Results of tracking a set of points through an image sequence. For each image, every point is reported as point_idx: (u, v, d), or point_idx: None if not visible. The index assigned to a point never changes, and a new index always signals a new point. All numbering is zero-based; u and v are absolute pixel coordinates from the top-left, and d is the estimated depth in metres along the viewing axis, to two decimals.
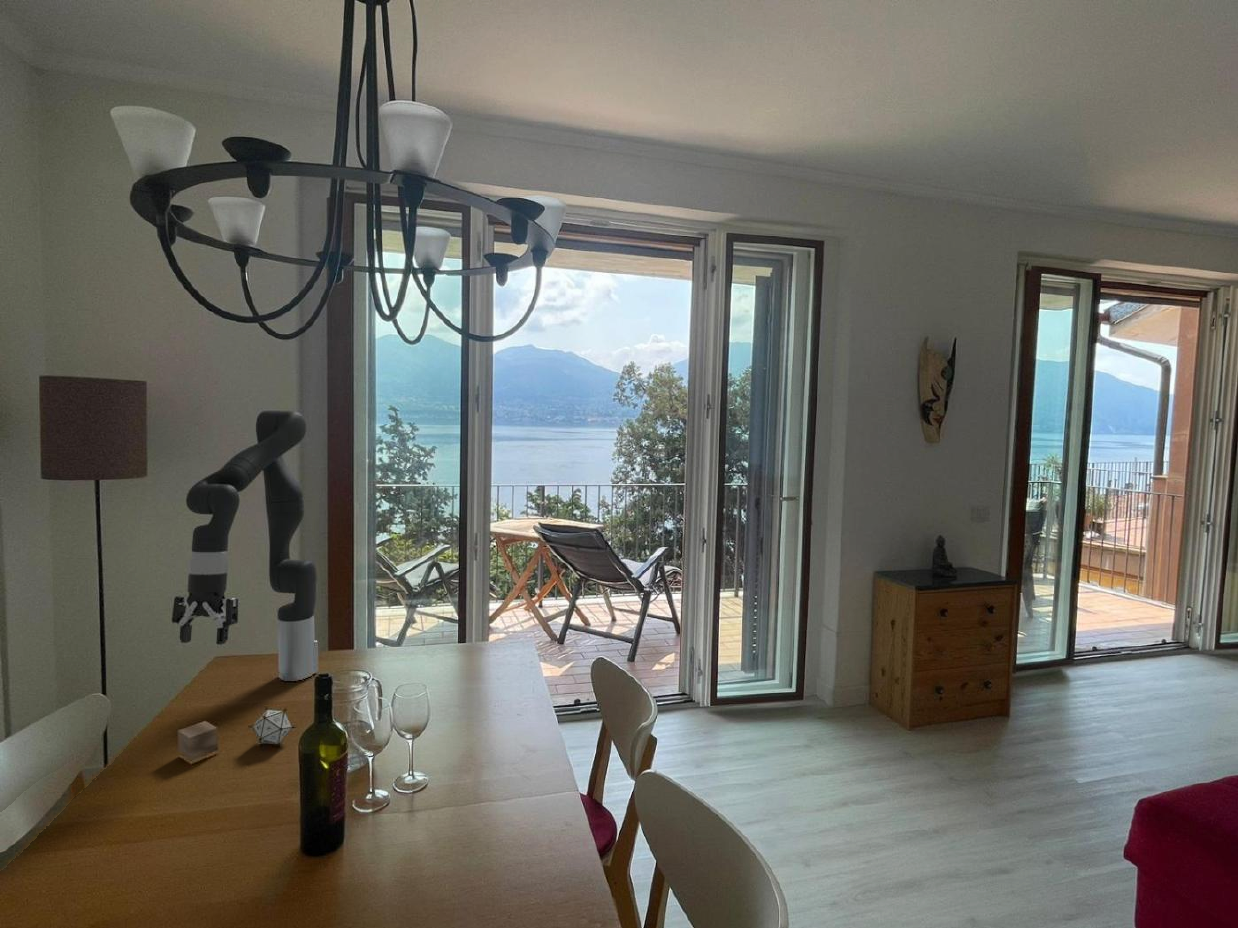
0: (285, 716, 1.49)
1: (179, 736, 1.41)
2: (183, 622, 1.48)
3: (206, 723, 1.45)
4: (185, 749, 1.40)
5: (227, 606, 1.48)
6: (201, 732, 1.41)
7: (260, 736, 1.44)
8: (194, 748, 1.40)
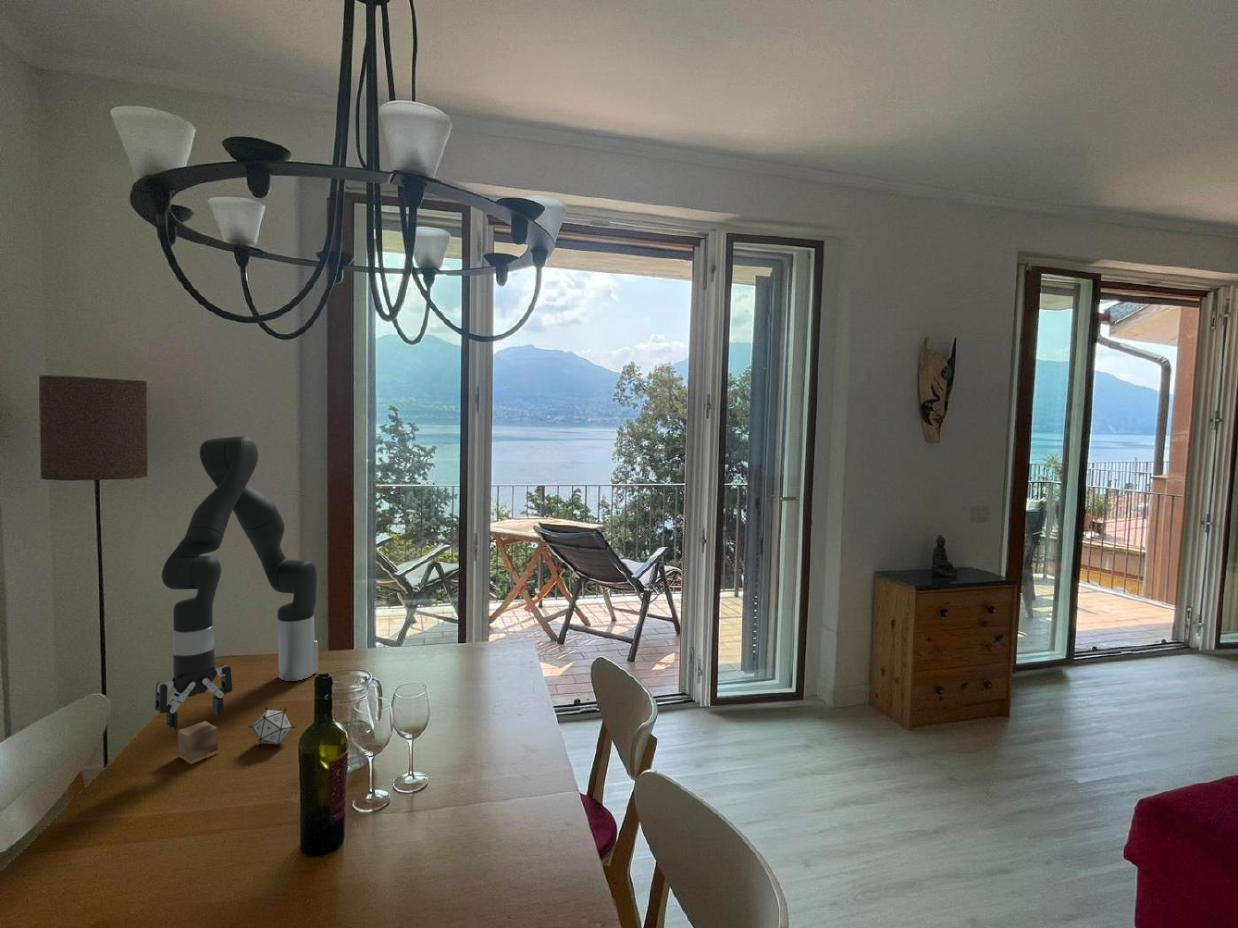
0: (285, 716, 1.49)
1: (179, 736, 1.41)
2: (175, 708, 1.38)
3: (206, 723, 1.45)
4: (185, 749, 1.40)
5: (227, 674, 1.46)
6: (201, 732, 1.41)
7: (260, 736, 1.44)
8: (194, 748, 1.40)
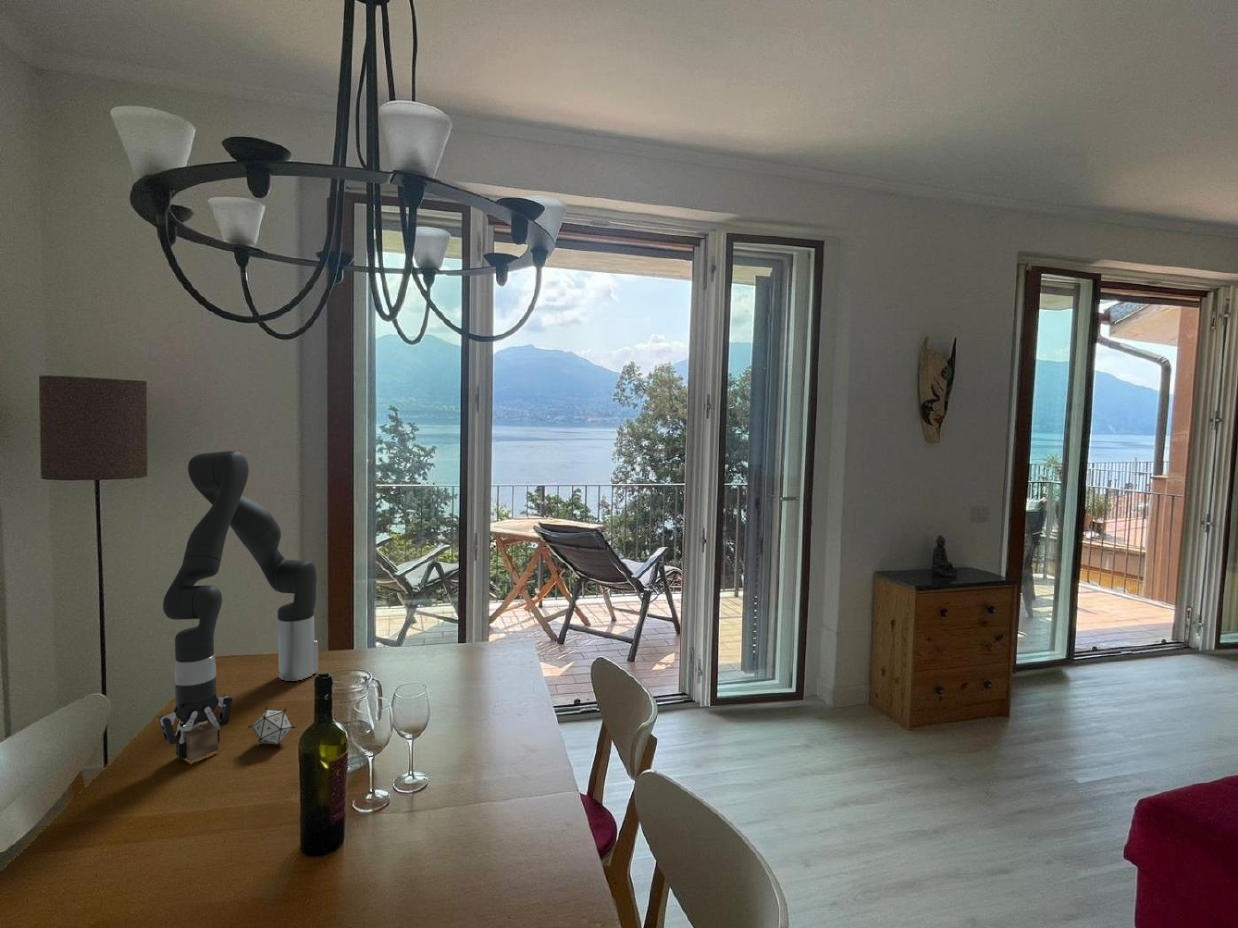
0: (285, 716, 1.49)
1: None
2: (184, 738, 1.39)
3: (206, 723, 1.45)
4: None
5: (227, 705, 1.46)
6: (201, 732, 1.41)
7: (260, 736, 1.44)
8: (194, 748, 1.40)
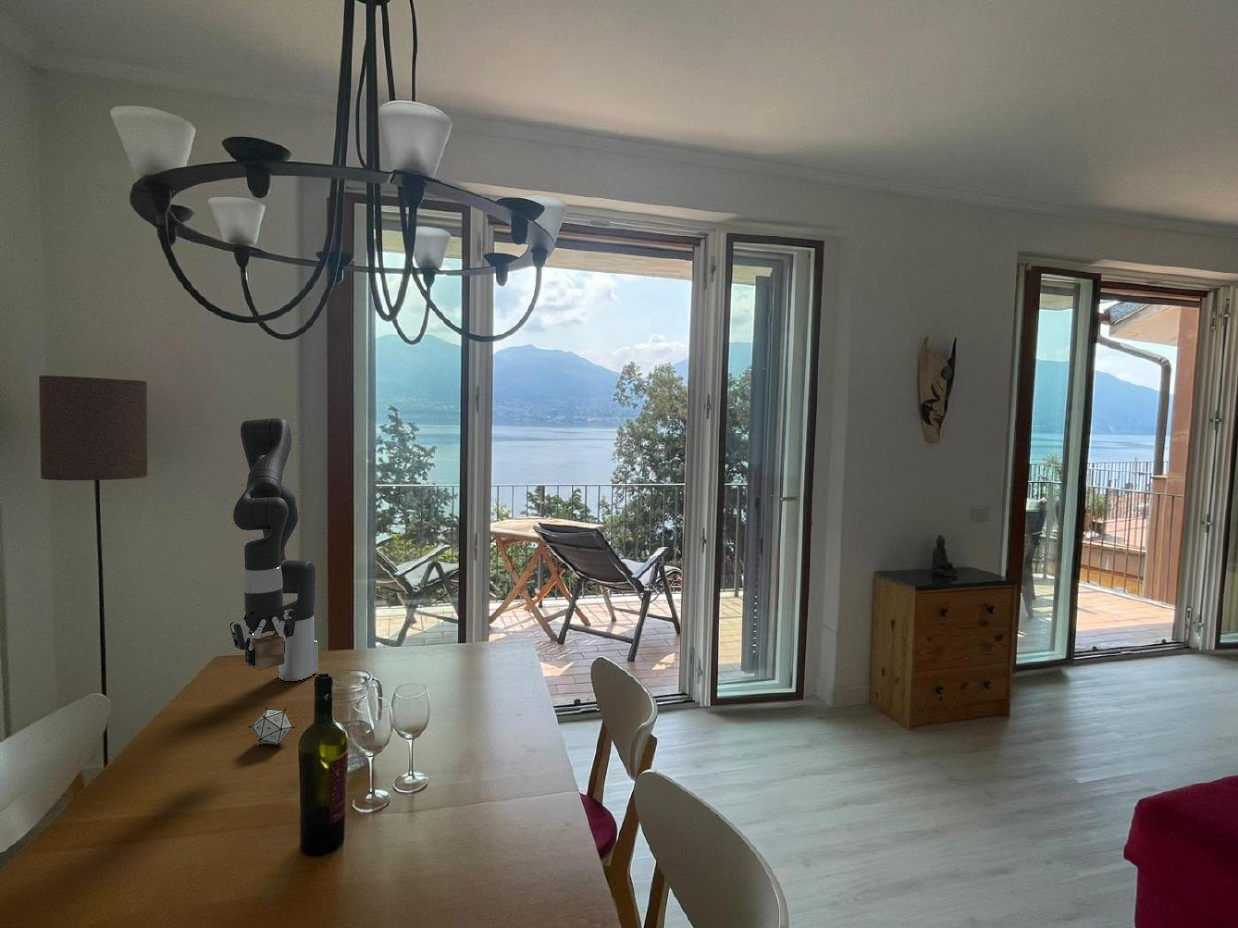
0: (285, 716, 1.49)
1: None
2: (254, 645, 1.43)
3: (272, 634, 1.49)
4: None
5: (292, 618, 1.50)
6: (269, 640, 1.45)
7: (260, 736, 1.44)
8: (263, 655, 1.43)
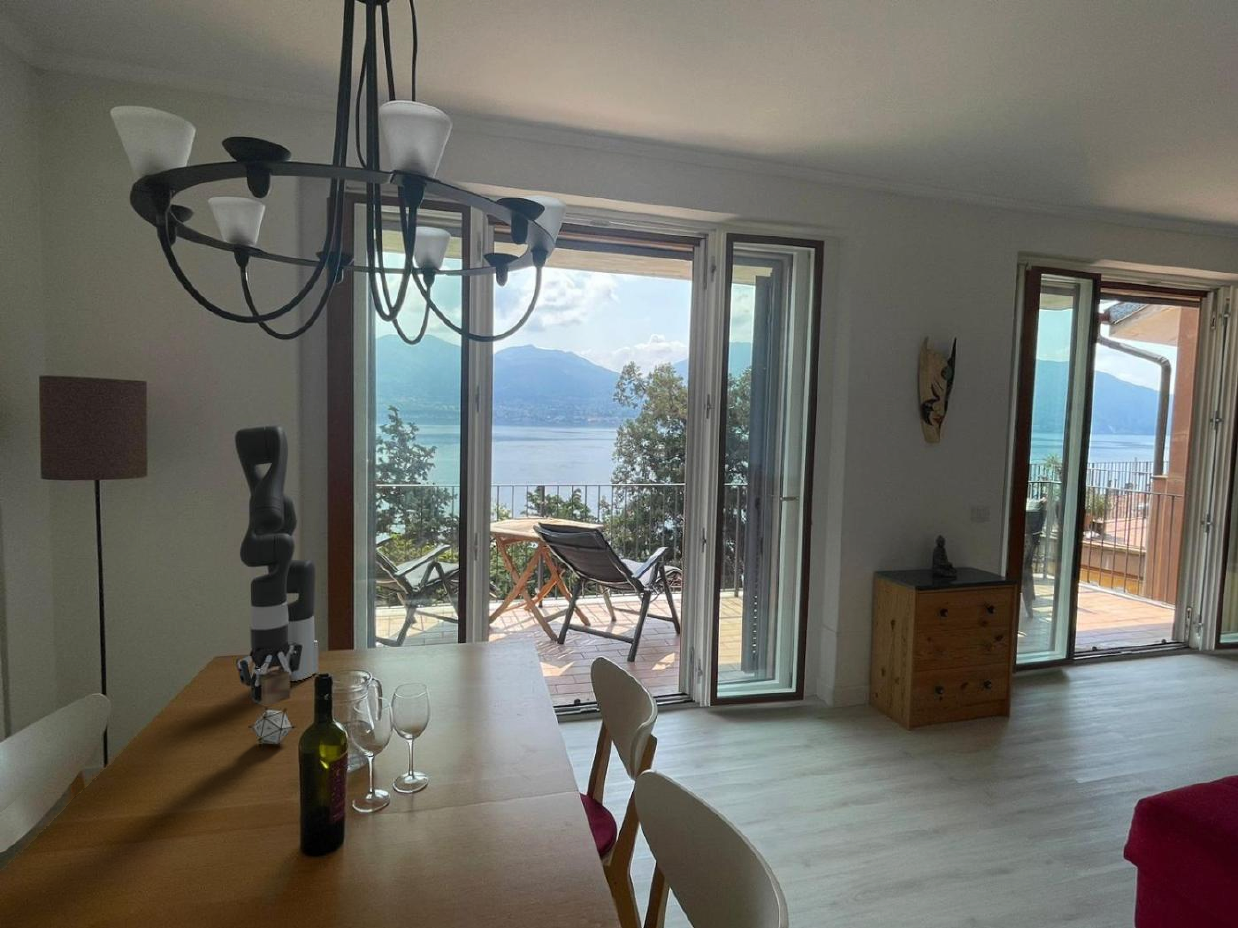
0: (285, 716, 1.49)
1: None
2: (260, 681, 1.44)
3: (278, 668, 1.50)
4: None
5: (298, 652, 1.51)
6: (275, 676, 1.46)
7: (260, 736, 1.44)
8: (269, 690, 1.44)
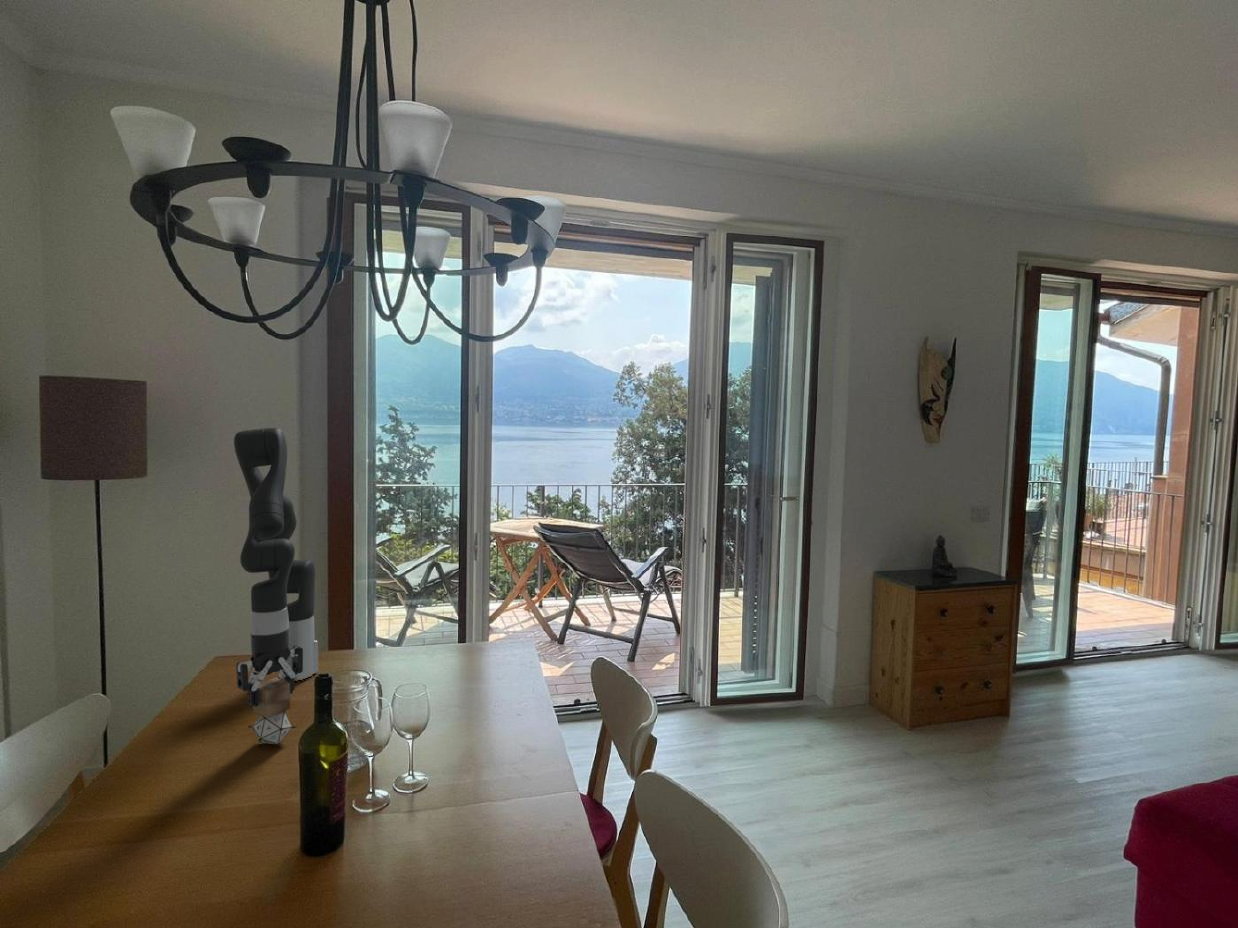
0: (285, 716, 1.49)
1: None
2: (256, 686, 1.43)
3: (278, 679, 1.50)
4: (260, 702, 1.45)
5: (299, 655, 1.51)
6: (275, 686, 1.46)
7: (260, 735, 1.45)
8: (269, 701, 1.45)
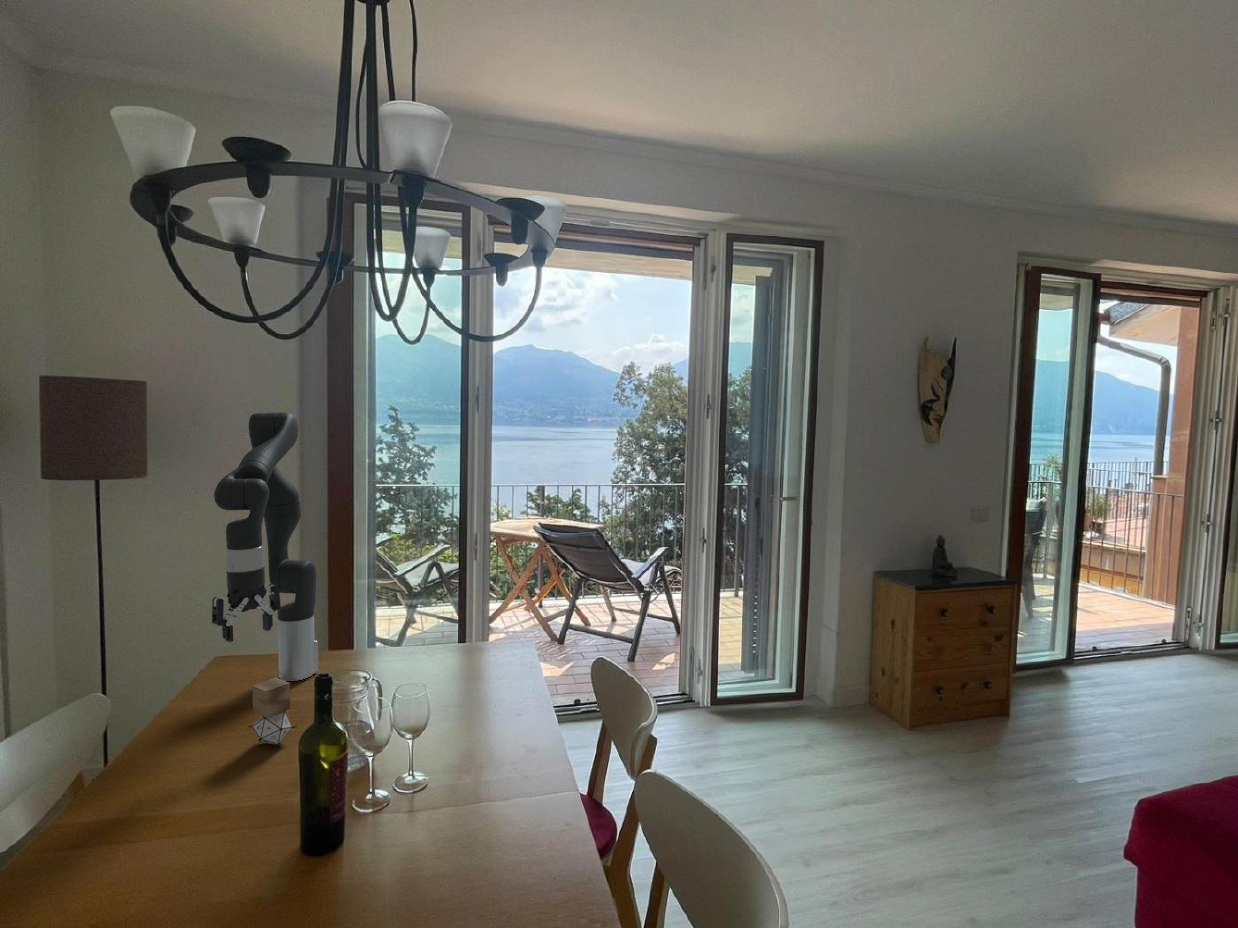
0: (285, 716, 1.49)
1: (254, 691, 1.46)
2: (231, 621, 1.45)
3: (278, 679, 1.50)
4: (260, 702, 1.45)
5: (276, 593, 1.54)
6: (275, 686, 1.46)
7: (260, 736, 1.44)
8: (269, 701, 1.45)
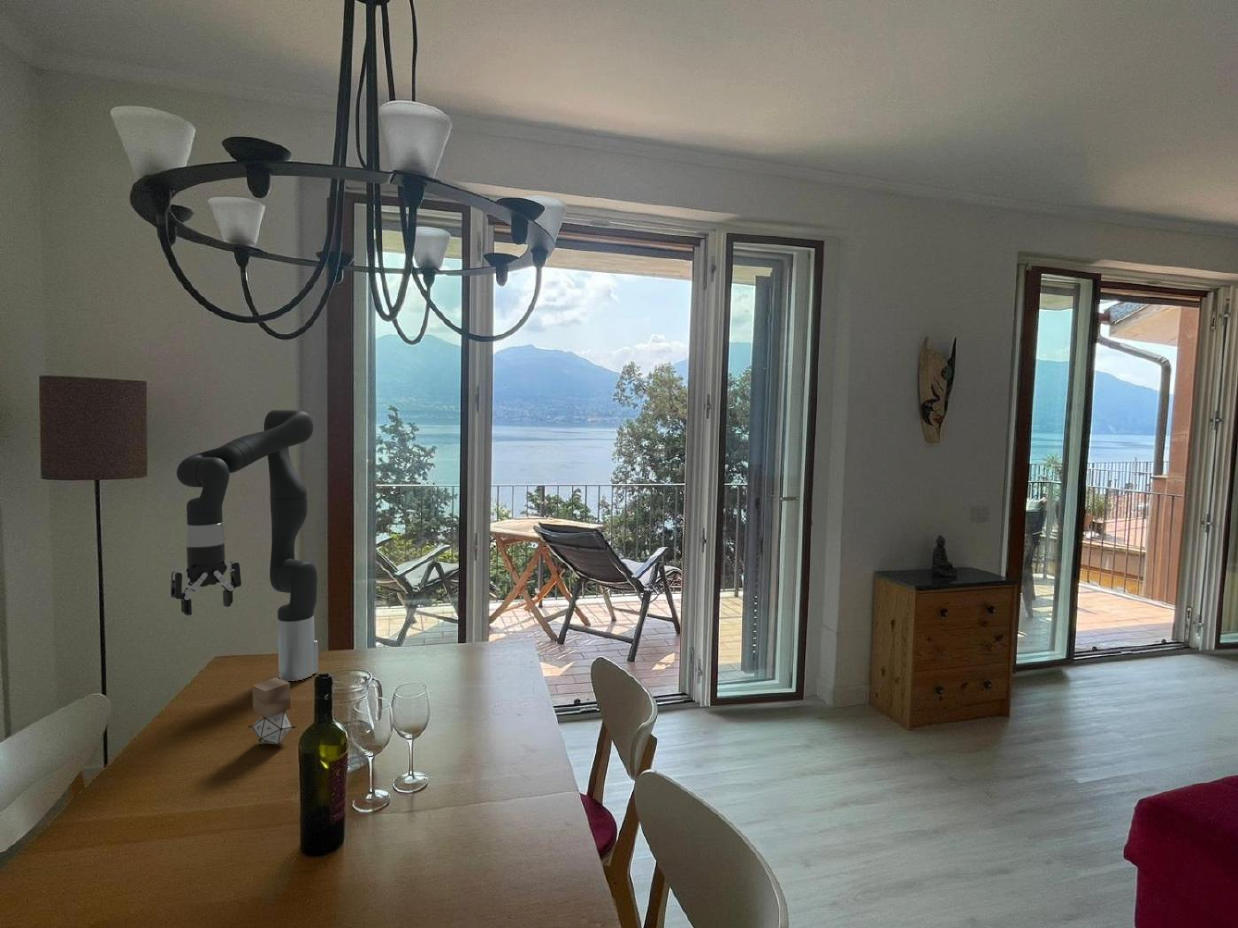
0: (285, 716, 1.49)
1: (254, 691, 1.46)
2: (189, 595, 1.50)
3: (278, 679, 1.50)
4: (261, 702, 1.45)
5: (236, 570, 1.58)
6: (275, 686, 1.46)
7: (260, 735, 1.45)
8: (270, 701, 1.45)
